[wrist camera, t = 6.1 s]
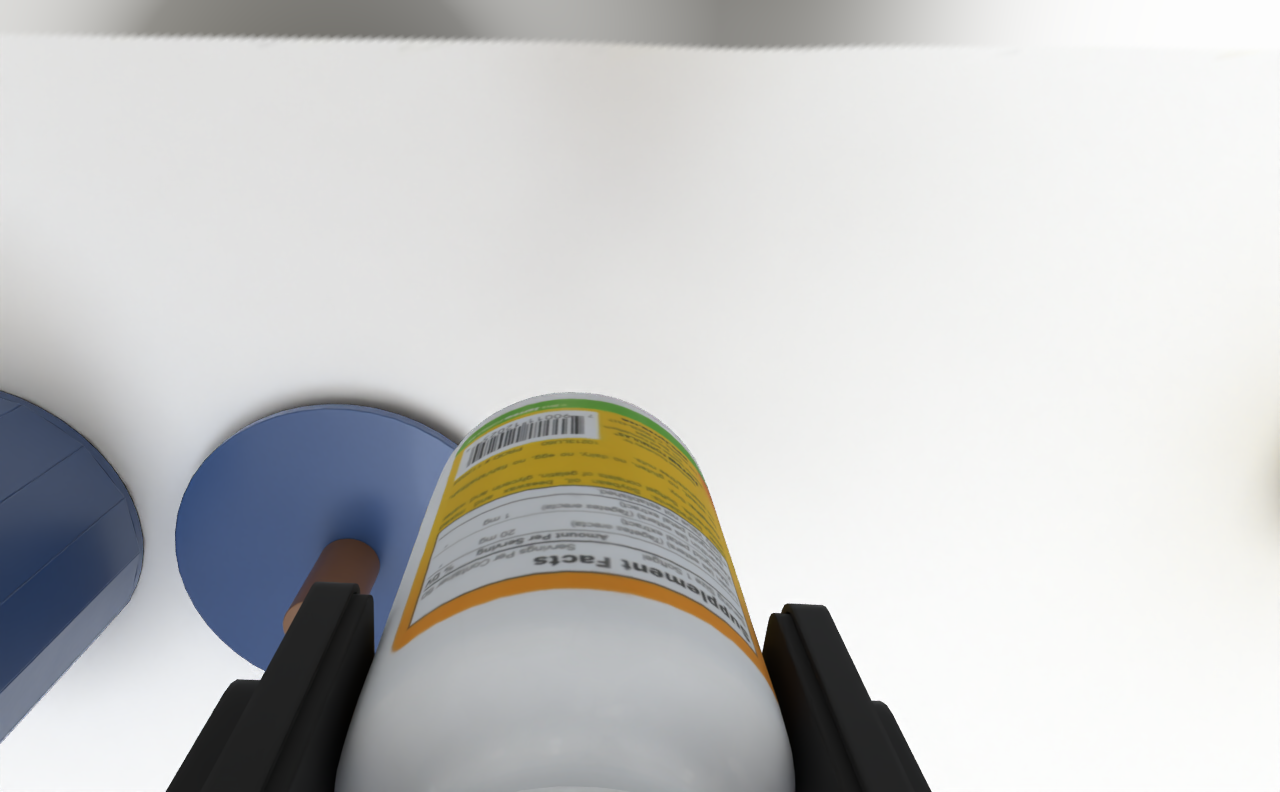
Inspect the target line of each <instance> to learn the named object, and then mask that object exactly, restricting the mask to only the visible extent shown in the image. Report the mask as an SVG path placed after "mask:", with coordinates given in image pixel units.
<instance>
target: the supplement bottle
mask: <svg viewBox="0 0 1280 792" xmlns="http://www.w3.org/2000/svg"><path fill="white" fill-rule="evenodd" d="M334 792H795V770H794V763H793V755H792V750H791V746H790V742H789V738H788V734H787V731H786V728H785V724H784V721H783V717H782V714H781V710H780V707H779V703H778V700H777V697H776V694H775V691H774V688H773V685H772V682H771V679H770V676H769V673H768V670H767V667H766V664H765V661H764V658H763V655H762V652H761V649H760V646H759V643H758V640H757V637H756V634H755V631H754V628H753V625H752V622H751V619H750V616H749V613H748V609H747V606H746V603H745V600H744V597H743V593H742V590H741V587H740V584H739V581H738V578H737V575H736V572H735V569H734V566H733V563H732V560H731V557H730V554H729V551H728V548H727V545H726V542H725V539H724V536H723V533H722V530H721V526H720V523H719V520H718V517H717V514H716V511H715V508H714V505H713V502H712V499H711V496H710V493H709V490H708V487H707V485H706V483H705V480H704V477H703V475H702V473H701V471H700V468H699V466H698V464H697V462H696V460H695V459H694V457H693V455H692V454H691V452H690V451H689V450H688V448H687V447H686V445H685V444H684V443H683V442H682V441H681V440H680V438H679V437H678V436H677V435H676V434H675V433H674V432H673V431H672V430H671V429H670V428H668V427H667V426H666V425H665V424H663V423H662V422H661V421H660V420H659V419H657V418H656V417H654V416H653V415H651V414H649V413H648V412H646V411H644V410H643V409H641V408H639V407H637V406H635V405H633V404H630V403H628V402H625V401H622V400H619V399H616V398H612V397H609V396H604V395H598V394H591V393H573V392H568V393H553V394H547V395H541V396H536V397H532V398H529V399H526V400H523V401H520V402H517V403H515V404H512V405H510V406H508V407H506V408H503V409H502V410H500V411H498V412H496V413H494V414H493V415H491V416H490V417H488V418H487V419H485V420H484V421H483V422H481V423H480V424H479V425H478V426H476V427H475V428H474V429H473V430H472V431H471V432H470V433H469V434H468V435H467V436H466V437H465V438H464V439H463V440H462V441H461V443H460V444H459V445H458V446H457V448H456V449H455V450H454V451H453V453H452V454H451V456H450V458H449V459H448V461H447V463H446V465H445V467H444V468H443V471H442V473H441V475H440V478H439V480H438V483H437V485H436V487H435V490H434V492H433V495H432V497H431V500H430V502H429V505H428V507H427V511H426V514H425V517H424V519H423V522H422V524H421V527H420V530H419V534H418V536H417V539H416V542H415V544H414V547H413V550H412V553H411V556H410V559H409V561H408V564H407V567H406V570H405V573H404V575H403V578H402V581H401V584H400V586H399V589H398V592H397V595H396V597H395V600H394V603H393V606H392V609H391V611H390V614H389V617H388V620H387V622H386V625H385V628H384V631H383V634H382V636H381V639H380V642H379V645H378V647H377V650H376V653H375V656H374V658H373V661H372V664H371V666H370V669H369V672H368V674H367V677H366V680H365V682H364V685H363V687H362V690H361V693H360V695H359V698H358V701H357V704H356V707H355V710H354V713H353V716H352V719H351V722H350V725H349V728H348V732H347V735H346V738H345V742H344V745H343V749H342V752H341V756H340V760H339V764H338V768H337V772H336V780H335V787H334Z"/></svg>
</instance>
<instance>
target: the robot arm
mask: <svg viewBox="0 0 1280 792" xmlns="http://www.w3.org/2000/svg"><path fill="white" fill-rule="evenodd" d="M762 655H763V658H764V661H765V664H766V667H767V670H768V673H769V676H770V679H771V682H772V685H773V688H774V691H775V694H776V697H777V700H778V703H779V707H780V710H781V714H782V717H783V721H784V724H785V728H786V731H787V734H788V738H789V742H790V746H791V750H792V755H793V763H794V770H795V792H931V790H930V788H929V786H928V784H927V782H926V780H925V778H924V776H923V774H922V772H921V770H920V768H919V766H918V764H917V762H916V760H915V758H914V756H913V754H912V752H911V750H910V748H909V746H908V744H907V742H906V740H905V738H904V736H903V734H902V732H901V730H900V728H899V726H898V724H897V722H896V720H895V718H894V716H893V714H892V713H891V711H890V710H889V708H888V707H887V705H886V704H884V703H883V702H881V701H871V699H870V697H869V695H868V693H867V690H866V688H865V686H864V684H863V682H862V680H861V678H860V676H859V674H858V672H857V670H856V667H855V665H854V663H853V661H852V659H851V657H850V655H849V653H848V651H847V649H846V647H845V644H844V642H843V640H842V638H841V636H840V634H839V632H838V630H837V628H836V626H835V623H834V621H833V619H832V617H831V615H830V613H829V611H828V610H827V608H826V607H825V606H823V605H808V604H786V605H784V607H783V609H782V612H781V613H773V614H771V616H770V618H769V622H768V626H767V631H766V636H765V641H764V646H763V651H762ZM374 656H375V644H374V601H373V596H372V595H366V594H360V588H359V585H358V584H357V583H339V582H318V581H317V582H315V583H314V584H313V585H312V586H311V588H310V590H309V592H308V593H307V595H306V597H305V599H304V601H303V603H302V604H301V606H300V608H299V610H298V612H297V614H296V616H295V617H294V619H293V621H292V623H291V625H290V627H289V628H288V630H287V632H286V634H285V636H284V638H283V640H282V641H281V643H280V645H279V647H278V649H277V651H276V652H275V654H274V656H273V658H272V660H271V662H270V664H269V665H268V667H267V669H266V671H265V673H264V675H263V676H262V678H261V680H238V679H237V680H236V681H234V682H233V683H231V684H230V686H229V687H228V688H227V690H226V691H225V692H224V694H223V696H222V697H221V699H220V701H219V702H218V704H217V706H216V707H215V709H214V711H213V712H212V714H211V716H210V718H209V719H208V721H207V723H206V724H205V726H204V728H203V729H202V731H201V733H200V734H199V736H198V738H197V740H196V741H195V743H194V745H193V746H192V748H191V750H190V751H189V753H188V755H187V756H186V758H185V760H184V762H183V763H182V765H181V767H180V768H179V770H178V772H177V773H176V775H175V777H174V778H173V780H172V782H171V784H170V785H169V787H168V789H167V790H166V792H334V787H335V780H336V772H337V768H338V764H339V760H340V756H341V752H342V749H343V745H344V742H345V738H346V735H347V732H348V728H349V725H350V722H351V719H352V716H353V713H354V710H355V707H356V704H357V701H358V698H359V695H360V693H361V690H362V687H363V685H364V682H365V680H366V677H367V674H368V672H369V669H370V666H371V664H372V661H373V658H374Z"/></svg>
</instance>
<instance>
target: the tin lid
mask: <svg viewBox="0 0 1280 792" xmlns="http://www.w3.org/2000/svg"><path fill="white" fill-rule="evenodd" d="M457 446H458V445H457V444H455V443H454V442H452V441H451V440H450V439H448V438H447V437H445V436H444V435H442V434H441V433H439V432H437V431H435V430H433V429H431V428H429V427H428V426H426V425H424V424H422V423H420V422H417V421H415V420H412V419H410V418H407V417H405V416H402V415H399V414H396V413H392V412H388V411H385V410H381V409H377V408H372V407H365V406H358V405H346V404H323V405H312V406H303V407H298V408H294V409H289V410H285V411H281V412H278V413H275V414H273V415H270V416H267V417H264V418H262V419H259V420H257V421H255V422H254V423H252V424H250V425H248V426H246V427H244V428H242V429H240V430H239V431H238V432H236V433H235V434H234V435H232V436H231V437H230V438H228V439H227V440H225V441H224V442H223V443H222V444H221V445H220V446H219V447H218V448H217V449H216V450H215V451H214V452H213V453H212V454H211V455H210V456H209V457H208V458H207V459H206V460H205V461H204V462H203V463H202V465H201V466H200V467H199V469H198V470H197V471H196V473H195V474H194V475H193V477H192V479H191V481H190V483H189V485H188V487H187V489H186V491H185V493H184V495H183V498H182V501H181V504H180V508H179V511H178V515H177V523H176V530H175V545H176V556H177V562H178V567H179V572H180V574H181V577H182V580H183V583H184V586H185V589H186V591H187V593H188V595H189V597H190V599H191V601H192V603H193V605H194V606H195V608H196V609H197V611H198V612H199V614H200V615H201V617H202V618H203V620H204V621H205V622H206V624H207V625H208V626H209V627H210V628H211V629H212V630H213V632H214V633H215V634H216V635H217V636H218V637H219V638H220V639H221V640H222V641H223V642H224V643H225V644H227V645H228V646H229V647H230V648H231V649H232V650H233V651H234V652H236V653H237V654H239V655H240V656H241V657H243V658H244V659H246V660H247V661H249V662H250V663H251V664H253V665H255V666H256V667H258V668H260V669H262V670H264V671H266V669H267V667H268V665H269V664H270V662H271V660H272V658H273V656H274V654H275V652H276V651H277V649H278V647H279V645H280V643H281V641H282V640H283V638H284V636H285V634H286V632H287V630H288V628H289V627H290V625H291V623H292V621H293V619H294V617H295V616H296V614H297V612H298V610H299V608H300V606H301V604H302V603H303V601H304V599H305V597H306V595H307V593H308V592H309V590H310V588H311V586H312V585H313V584H314V583H315V582H317V581H318V582H339V583H357V584H358V585H359V588H360V594H366V595H372V596H373V601H374V644H375V653H376V650H377V647H378V645H379V642H380V639H381V636H382V634H383V631H384V628H385V625H386V622H387V620H388V617H389V614H390V611H391V609H392V606H393V603H394V600H395V597H396V595H397V592H398V589H399V586H400V584H401V581H402V578H403V575H404V573H405V570H406V567H407V564H408V561H409V559H410V556H411V553H412V550H413V547H414V544H415V542H416V539H417V536H418V534H419V530H420V527H421V524H422V522H423V519H424V517H425V514H426V511H427V507H428V505H429V502H430V500H431V497H432V495H433V492H434V490H435V487H436V485H437V483H438V480H439V478H440V475H441V473H442V471H443V468H444V467H445V465H446V463H447V461H448V459H449V458H450V456H451V454H452V453H453V451H454V450H455V449H456V448H457Z"/></svg>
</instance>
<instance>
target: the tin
mask: <svg viewBox="0 0 1280 792" xmlns="http://www.w3.org/2000/svg"><path fill="white" fill-rule="evenodd" d="M142 560H143V536H142V531H141V526H140V521H139V517H138V515H137V512H136V509H135V506H134V504H133V501H132V499H131V497H130V495H129V493H128V491H127V489H126V487H125V486H124V484H123V482H122V481H121V479H120V478H119V476H118V475H117V473H116V472H115V471H114V469H113V468H112V466H111V465H110V464H109V463H108V462H107V460H106V459H105V458H104V457H103V456H102V455H101V454H100V452H99V451H98V450H97V449H96V448H95V447H94V446H92V445H91V444H90V443H89V442H88V441H87V440H86V439H85V438H84V437H83V436H82V435H81V434H79V433H78V432H77V431H75V430H74V429H73V428H71V427H70V426H68V425H67V424H66V423H64V422H63V421H62V420H60V419H58V418H57V417H55V416H53V415H52V414H50V413H49V412H47V411H45V410H44V409H42V408H40V407H38V406H36V405H34V404H32V403H29V402H27V401H25V400H23V399H21V398H19V397H16V396H13V395H10V394H8V393H5V392H2V391H0V744H1V743H2V742H3V741H4V739H5V738H6V737H7V736H8V735H9V734H10V733H11V732H12V731H13V730H14V729H15V727H16V726H17V725H18V724H19V723H20V722H21V721H22V720H23V719H24V718H25V716H26V715H27V714H28V713H29V712H30V711H31V710H32V709H33V708H34V707H35V706H36V704H37V703H38V702H39V701H40V700H41V699H42V698H43V697H44V696H45V695H46V693H47V692H48V691H49V690H50V689H51V688H52V687H53V686H54V685H55V684H56V682H57V681H58V680H59V679H60V678H61V677H62V676H63V675H64V674H65V673H66V672H67V670H68V669H69V668H70V667H71V666H72V665H73V664H74V663H75V662H76V661H77V659H78V658H79V657H80V656H81V655H82V654H83V653H84V652H85V651H86V650H87V649H88V647H89V646H90V645H91V644H92V643H93V642H94V641H95V640H96V639H97V638H98V636H99V635H100V634H101V633H102V632H103V631H104V630H105V629H106V627H107V626H108V625H109V624H110V623H111V622H112V621H113V619H114V618H115V617H116V616H117V615H118V614H119V613H120V612H121V610H122V609H123V608H124V607H125V606H126V605H127V604H128V602H129V601H130V599H131V596H132V594H133V592H134V590H135V588H136V586H137V583H138V579H139V576H140V573H141V568H142Z"/></svg>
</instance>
